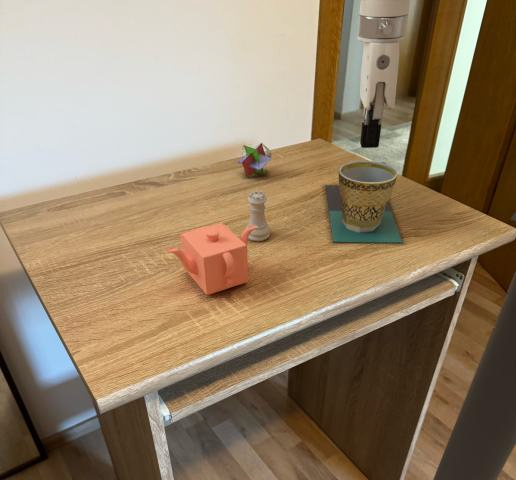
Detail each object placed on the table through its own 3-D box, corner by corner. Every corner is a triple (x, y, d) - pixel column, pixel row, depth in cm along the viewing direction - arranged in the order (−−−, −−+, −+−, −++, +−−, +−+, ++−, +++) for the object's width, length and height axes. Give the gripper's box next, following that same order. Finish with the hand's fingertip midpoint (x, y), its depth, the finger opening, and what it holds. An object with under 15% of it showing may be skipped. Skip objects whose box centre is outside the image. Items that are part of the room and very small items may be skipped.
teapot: (158, 274, 79) (150, 227, 73) (240, 250, 84) (238, 204, 79) (187, 312, 71) (181, 263, 66) (275, 283, 77) (276, 235, 71)
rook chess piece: (270, 230, 90) (270, 188, 84) (270, 242, 86) (270, 199, 81) (246, 230, 90) (244, 188, 84) (245, 242, 86) (243, 199, 81)
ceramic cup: (374, 242, 85) (383, 187, 79) (324, 227, 90) (328, 174, 83) (402, 214, 93) (412, 162, 87) (355, 202, 98) (361, 151, 91)
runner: (382, 186, 103) (382, 185, 103) (402, 243, 85) (402, 242, 85) (325, 186, 104) (325, 185, 104) (333, 242, 86) (333, 241, 86)
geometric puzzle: (248, 176, 103) (264, 139, 101) (226, 167, 107) (241, 132, 105) (267, 187, 109) (282, 152, 107) (245, 179, 112) (259, 145, 111)
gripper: (415, 35, 71) (396, 161, 83) (398, 20, 83) (383, 132, 95) (363, 37, 72) (352, 161, 84) (353, 21, 83) (345, 133, 95)
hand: (369, 145), depth 89 cm, fingers closed
